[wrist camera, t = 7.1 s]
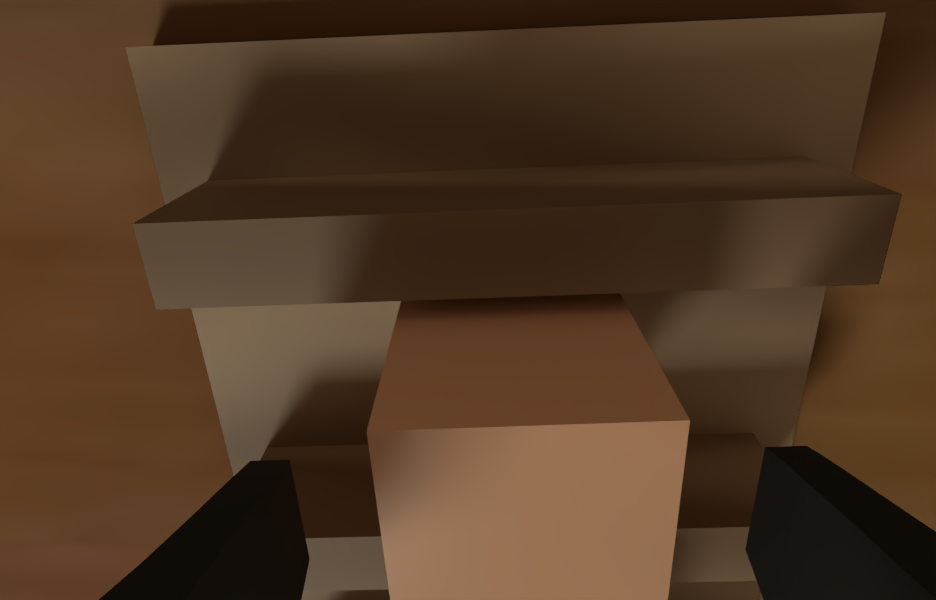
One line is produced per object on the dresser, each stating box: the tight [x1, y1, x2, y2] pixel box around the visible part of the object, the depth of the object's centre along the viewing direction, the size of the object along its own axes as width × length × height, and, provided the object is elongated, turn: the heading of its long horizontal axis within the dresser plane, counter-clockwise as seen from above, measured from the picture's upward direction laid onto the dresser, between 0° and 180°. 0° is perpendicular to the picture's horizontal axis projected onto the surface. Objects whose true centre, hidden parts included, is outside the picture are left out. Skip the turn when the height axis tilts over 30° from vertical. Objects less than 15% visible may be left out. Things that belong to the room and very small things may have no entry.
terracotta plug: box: [367, 293, 690, 600], centre depth 11 cm, size 4×4×6 cm
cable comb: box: [126, 12, 902, 600], centre depth 14 cm, size 20×14×4 cm
